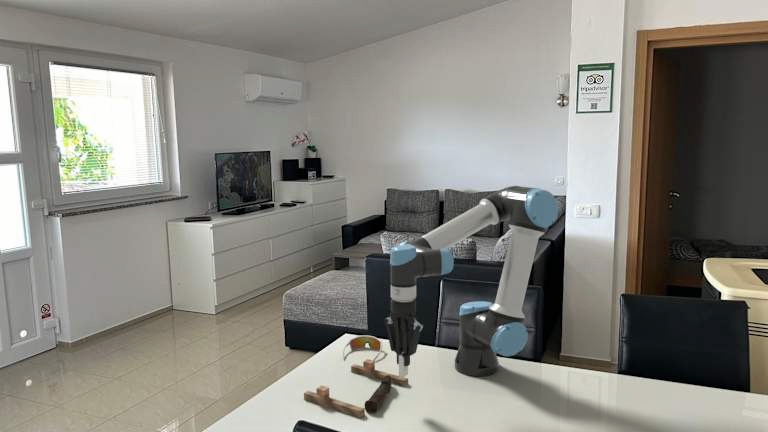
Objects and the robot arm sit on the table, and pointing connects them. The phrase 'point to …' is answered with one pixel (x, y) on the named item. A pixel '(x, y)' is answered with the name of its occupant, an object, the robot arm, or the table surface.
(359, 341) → the sunglasses
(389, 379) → the dark brown wooden log
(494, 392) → the table surface
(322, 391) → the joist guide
